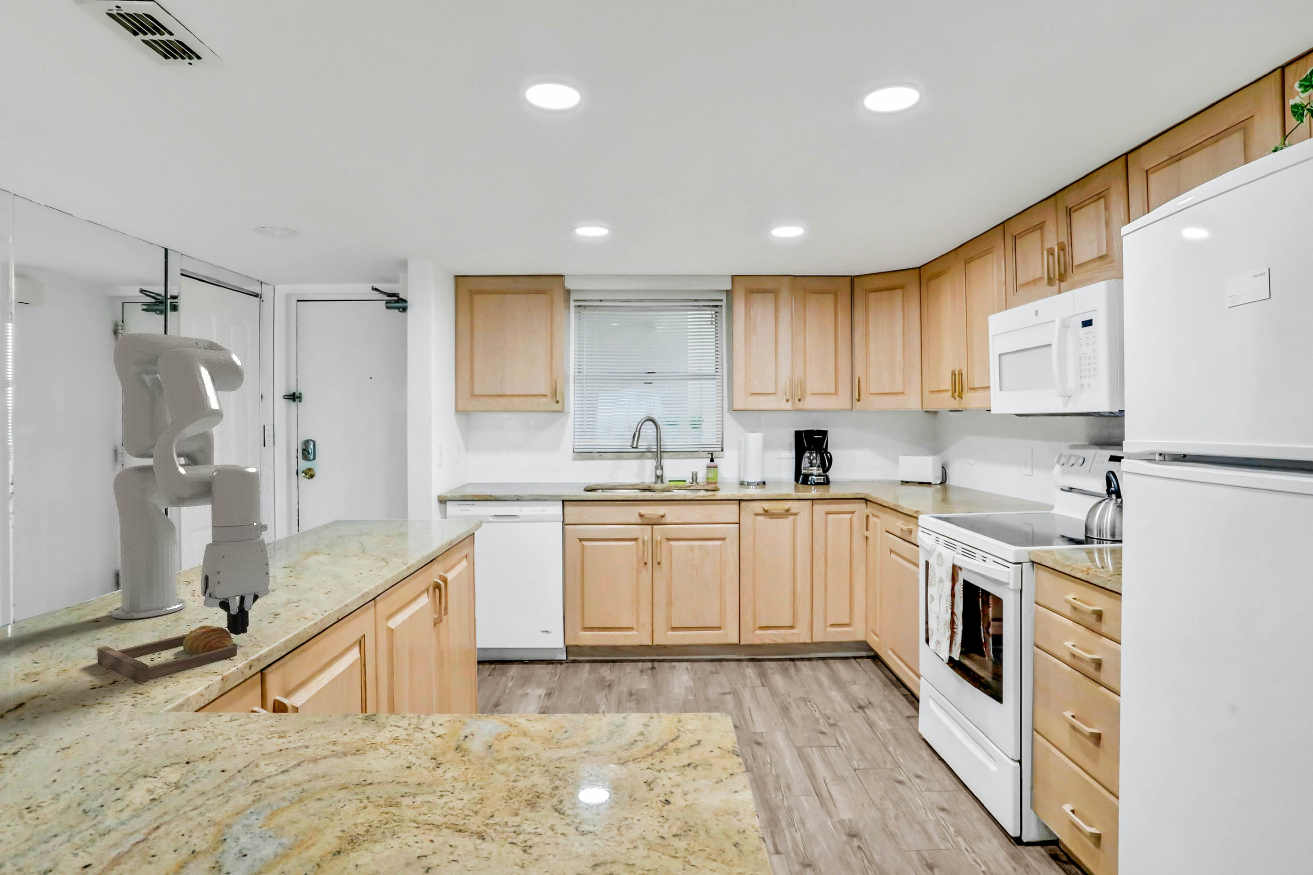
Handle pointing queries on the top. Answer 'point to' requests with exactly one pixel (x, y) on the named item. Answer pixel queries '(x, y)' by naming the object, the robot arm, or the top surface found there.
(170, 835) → the top surface
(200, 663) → the bay
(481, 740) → the top surface
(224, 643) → the pastry
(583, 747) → the top surface
